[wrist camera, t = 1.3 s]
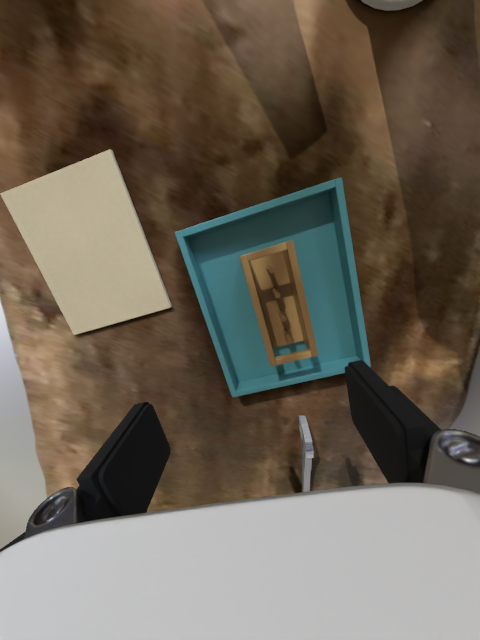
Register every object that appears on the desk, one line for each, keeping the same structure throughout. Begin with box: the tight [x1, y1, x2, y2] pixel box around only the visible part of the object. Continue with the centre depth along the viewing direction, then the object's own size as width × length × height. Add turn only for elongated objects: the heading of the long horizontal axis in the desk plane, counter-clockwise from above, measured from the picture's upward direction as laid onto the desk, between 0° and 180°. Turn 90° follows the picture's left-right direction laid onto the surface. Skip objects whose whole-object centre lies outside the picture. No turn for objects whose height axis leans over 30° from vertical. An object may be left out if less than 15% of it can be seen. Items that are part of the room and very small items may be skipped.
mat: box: [1, 150, 172, 335], centre depth 31 cm, size 16×20×1 cm
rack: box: [240, 240, 318, 366], centre depth 29 cm, size 6×14×5 cm, turn 16°
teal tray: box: [175, 177, 371, 397], centre depth 31 cm, size 20×24×3 cm
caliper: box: [298, 416, 314, 492], centre depth 37 cm, size 20×1×6 cm, turn 6°
